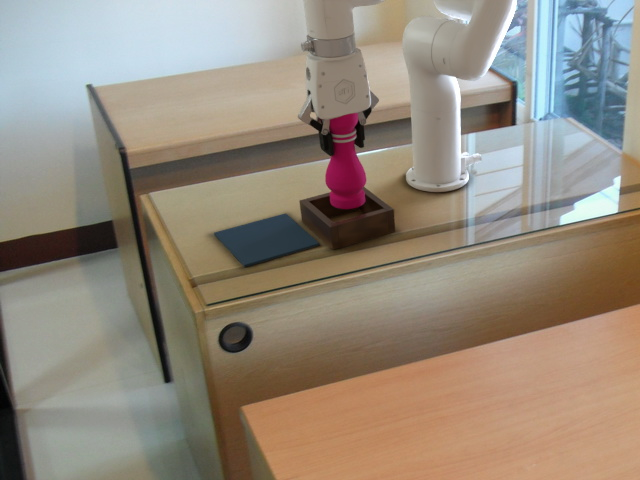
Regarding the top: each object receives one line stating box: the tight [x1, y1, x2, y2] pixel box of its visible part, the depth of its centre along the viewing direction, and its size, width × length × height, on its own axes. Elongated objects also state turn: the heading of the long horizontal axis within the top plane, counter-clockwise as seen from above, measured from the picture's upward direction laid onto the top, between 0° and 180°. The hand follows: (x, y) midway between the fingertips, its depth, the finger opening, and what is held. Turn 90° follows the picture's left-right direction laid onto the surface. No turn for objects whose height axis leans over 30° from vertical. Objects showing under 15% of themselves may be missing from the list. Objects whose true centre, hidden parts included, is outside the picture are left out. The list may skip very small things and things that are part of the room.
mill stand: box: [298, 186, 396, 251], centre depth 171 cm, size 13×13×4 cm
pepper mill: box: [324, 113, 367, 209], centre depth 164 cm, size 7×7×20 cm
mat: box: [213, 212, 320, 268], centre depth 167 cm, size 14×14×1 cm
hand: (343, 148), depth 164 cm, fingers closed on pepper mill, 5 cm apart
